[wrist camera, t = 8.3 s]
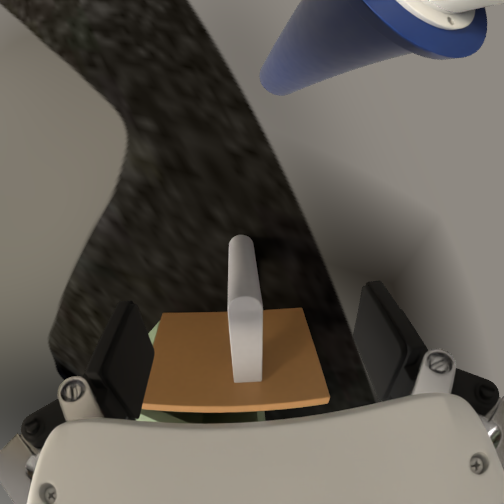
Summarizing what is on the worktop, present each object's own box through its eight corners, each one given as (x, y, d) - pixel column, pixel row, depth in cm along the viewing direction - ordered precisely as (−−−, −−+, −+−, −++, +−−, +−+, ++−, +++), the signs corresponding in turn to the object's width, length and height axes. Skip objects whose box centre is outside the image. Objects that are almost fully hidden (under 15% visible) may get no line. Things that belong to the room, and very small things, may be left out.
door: (157, 223, 23) (100, 320, 12) (299, 217, 24) (354, 311, 13) (170, 298, 27) (141, 409, 15) (294, 294, 27) (328, 403, 16)
